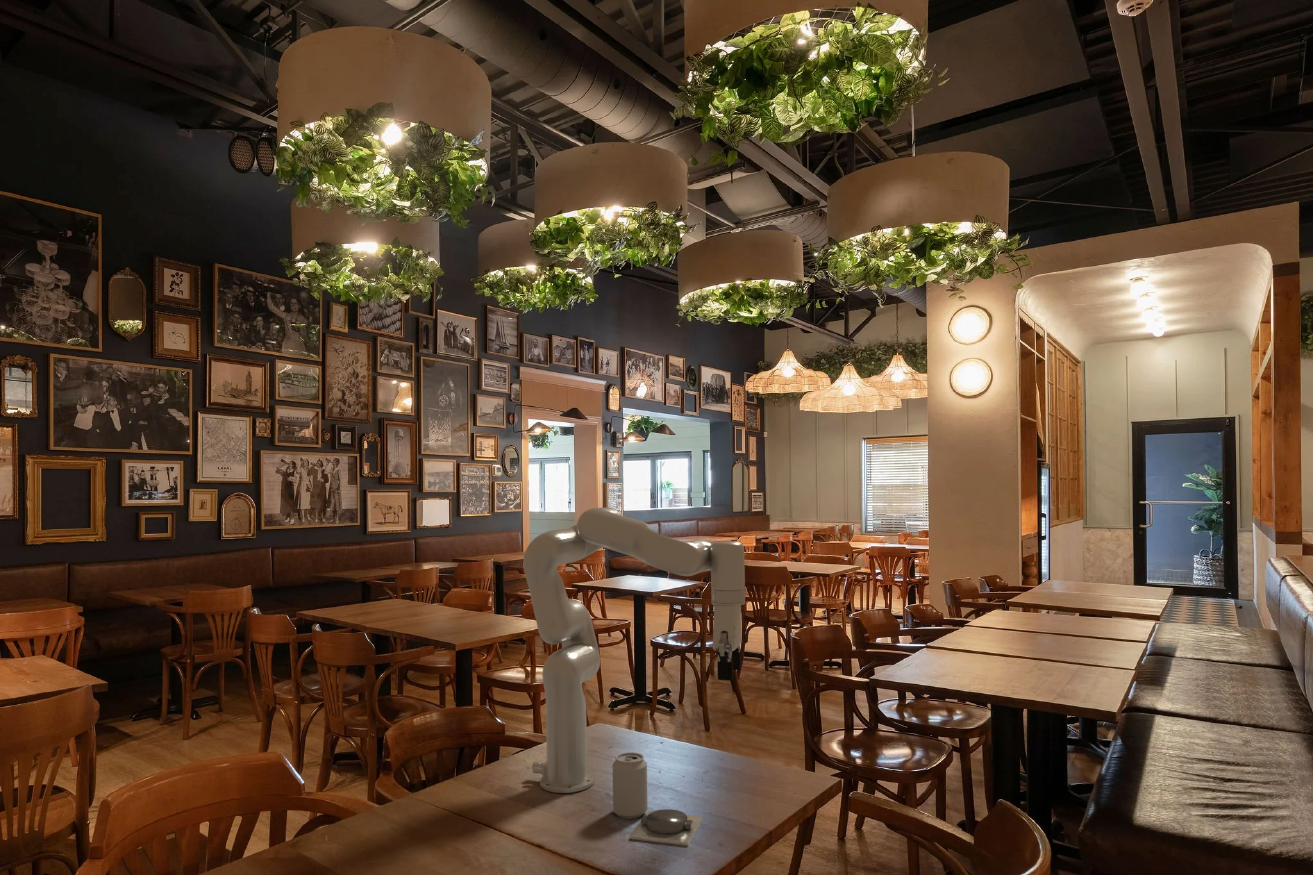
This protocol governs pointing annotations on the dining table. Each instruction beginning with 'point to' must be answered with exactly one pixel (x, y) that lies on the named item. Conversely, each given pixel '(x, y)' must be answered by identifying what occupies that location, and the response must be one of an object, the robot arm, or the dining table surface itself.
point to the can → (630, 785)
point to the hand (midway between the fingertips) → (729, 674)
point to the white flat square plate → (667, 827)
